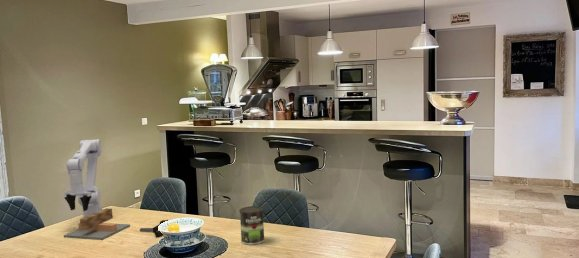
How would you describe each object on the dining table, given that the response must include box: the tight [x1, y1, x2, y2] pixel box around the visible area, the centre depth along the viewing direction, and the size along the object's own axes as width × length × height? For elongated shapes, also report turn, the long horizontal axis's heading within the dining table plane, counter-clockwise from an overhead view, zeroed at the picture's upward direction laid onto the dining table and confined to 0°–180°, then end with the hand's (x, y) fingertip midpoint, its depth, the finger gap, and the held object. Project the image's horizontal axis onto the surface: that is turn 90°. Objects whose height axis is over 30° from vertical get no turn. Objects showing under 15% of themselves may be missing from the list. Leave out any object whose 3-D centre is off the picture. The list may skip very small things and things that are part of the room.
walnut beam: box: [79, 207, 114, 230], centre depth 216 cm, size 18×4×5 cm, turn 163°
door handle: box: [139, 219, 169, 238], centre depth 215 cm, size 3×20×16 cm
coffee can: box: [239, 205, 265, 246], centre depth 193 cm, size 10×10×14 cm
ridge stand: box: [63, 222, 131, 241], centre depth 217 cm, size 20×22×4 cm
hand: (79, 210), depth 219 cm, fingers open, 7 cm apart
